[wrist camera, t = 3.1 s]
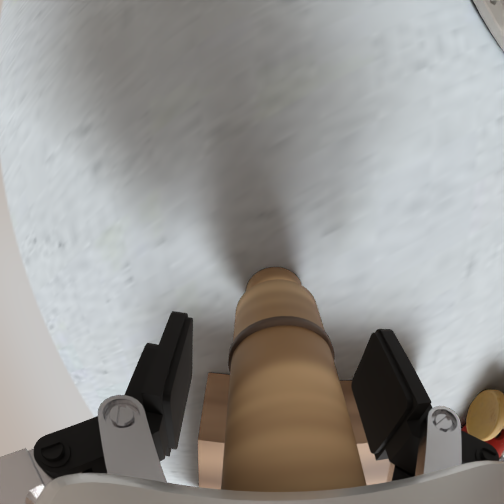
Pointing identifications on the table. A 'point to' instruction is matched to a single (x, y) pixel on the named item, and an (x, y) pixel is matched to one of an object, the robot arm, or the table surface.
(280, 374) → the oak peg
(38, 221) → the table surface
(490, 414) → the kendama
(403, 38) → the table surface
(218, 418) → the seat board
